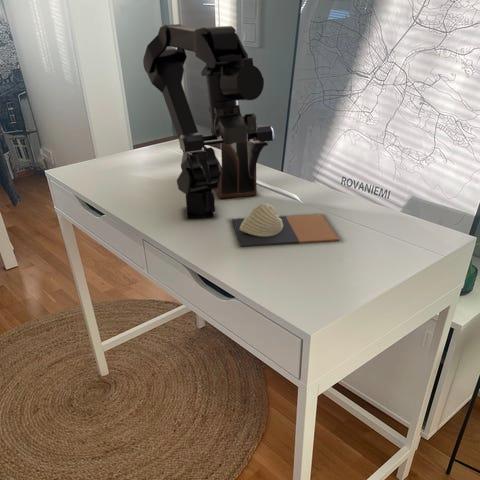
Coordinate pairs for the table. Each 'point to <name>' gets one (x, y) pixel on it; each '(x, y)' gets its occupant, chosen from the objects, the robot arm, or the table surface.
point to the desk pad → (291, 231)
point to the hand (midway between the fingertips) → (230, 180)
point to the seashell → (262, 221)
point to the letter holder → (235, 172)
